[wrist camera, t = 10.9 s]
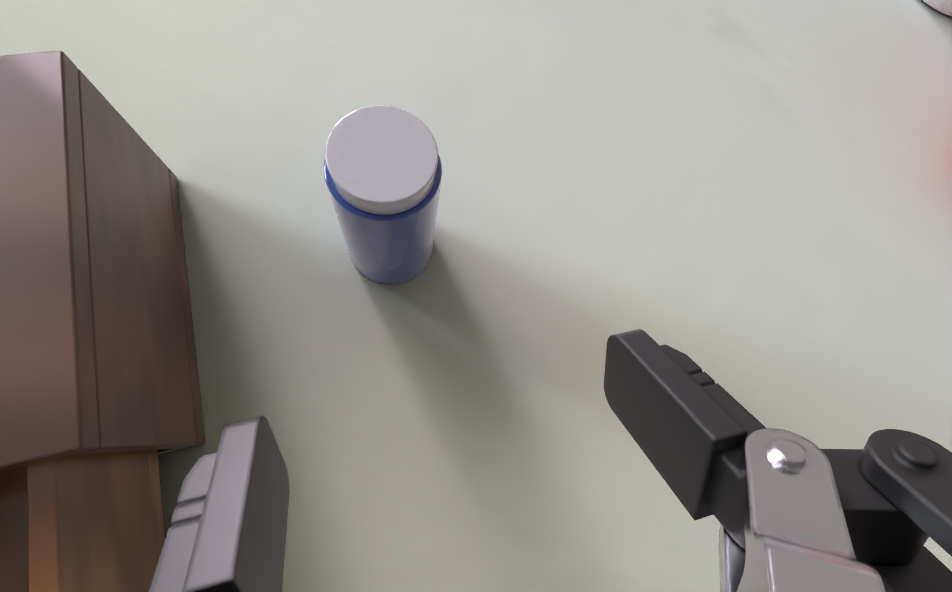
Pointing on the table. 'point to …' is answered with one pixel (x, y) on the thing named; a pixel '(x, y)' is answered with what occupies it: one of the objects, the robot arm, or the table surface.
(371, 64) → the table surface
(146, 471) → the drawer
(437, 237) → the table surface
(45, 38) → the table surface
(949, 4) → the fruit juice
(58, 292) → the cabinet
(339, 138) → the pepper shaker
